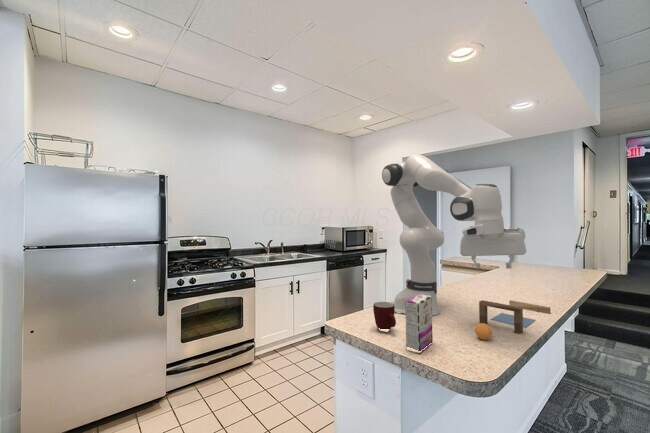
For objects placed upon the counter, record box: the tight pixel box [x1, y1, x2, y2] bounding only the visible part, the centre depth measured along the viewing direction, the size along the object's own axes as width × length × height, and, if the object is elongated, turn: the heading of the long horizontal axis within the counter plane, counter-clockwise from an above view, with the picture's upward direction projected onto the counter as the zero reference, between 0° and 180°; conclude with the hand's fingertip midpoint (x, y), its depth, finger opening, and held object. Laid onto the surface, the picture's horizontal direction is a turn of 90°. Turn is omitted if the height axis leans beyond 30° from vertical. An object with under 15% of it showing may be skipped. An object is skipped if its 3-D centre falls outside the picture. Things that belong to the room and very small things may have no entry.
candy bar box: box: [404, 294, 434, 351], centre depth 101 cm, size 11×5×16 cm, turn 139°
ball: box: [474, 323, 493, 341], centre depth 107 cm, size 6×6×6 cm
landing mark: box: [489, 312, 536, 329], centre depth 126 cm, size 13×13×1 cm
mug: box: [372, 301, 397, 330], centre depth 115 cm, size 10×8×10 cm
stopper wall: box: [508, 299, 551, 315], centre depth 141 cm, size 2×16×2 cm, turn 41°
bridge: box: [478, 299, 524, 335], centre depth 117 cm, size 3×14×9 cm, turn 41°
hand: (493, 268), depth 105 cm, fingers open, 8 cm apart
